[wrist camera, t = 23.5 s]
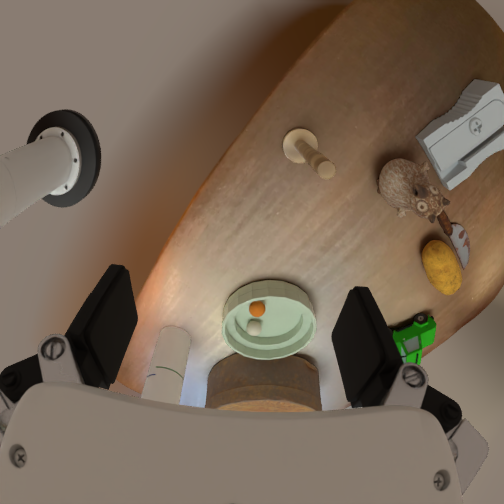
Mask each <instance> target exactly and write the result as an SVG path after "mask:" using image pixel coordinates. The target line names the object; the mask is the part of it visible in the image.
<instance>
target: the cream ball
mask: <svg viewBox="0 0 504 504" xmlns="http://www.w3.org/2000/svg"><path fill="white" fill-rule="evenodd" d="M246 330H247V332H248V334H249V335H251V336H257V335H259V334H260V333H261V330H262V326H261V324H260V323H259V322H257V321H251V322H249V323H248V324H247V326H246Z"/></svg>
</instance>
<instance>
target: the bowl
mask: <svg viewBox="0 0 504 504" xmlns="http://www.w3.org/2000/svg"><path fill="white" fill-rule="evenodd" d="M254 301H261V302H262V303H263V304H264V305H265V313H264V314H263V315H262V316H260V317H254V316H252V315H251V314H250V312H249V306H250V304H251V303H252V302H254ZM251 321H257V322H259V323H260V324H261V326H262V330H261V333H260V334H259V335H257V336H251V335H249V334H248V332H247V330H246V326H247V324H248V323H249V322H251ZM316 329H317V328H316V318H315V314H314V310H313V306H312V303H311V301H310V299H309V297H308V296H307V294H306V293H305V292H304V291H302V290H301V289H300V288H298V287H297V286H295V285H292V284H290V283H287V282H284V281H275V280H265V281H259V282H253V283H251V284H248V285H246V286H244V287H242V288H240V289H238V290H237V291H236V292H235V293H234V294H232V295H231V296H230V297H229V299H228V301H227V303H226V304H225V306H224V312H223V321H222V335H223V338H224V340H225V342H226V344H227V345H228V346H229V347H230V348H231V349H232V350H234V351H235V352H237V353H239V354H241V355H243V356H245V357H249V358H253V359H260V360H273V359H280V358H284V357H287V356H290V355H293V354H295V353H297V352H298V351H300V350H302V349H303V348H305V347H306V346H307V345H308V344H309V342H310V341H311V340H312V339H313V337H314V334H315V332H316Z"/></svg>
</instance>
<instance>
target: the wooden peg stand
mask: <svg viewBox="0 0 504 504" xmlns="http://www.w3.org/2000/svg"><path fill="white" fill-rule="evenodd" d="M282 148H283V152H284V154H285V155H286V156H287V158H288V159H290V160H291V161H293V162H295V163H306V162H307V163H308V164H309V165H310V166H311V167H312V168H313V170H314V171H315V172H316V173H317V174H318V175H319V176H320V177H321V178H322V179H330V178H332V177H333V176H334V175H335V173H336V167H335V165H334V163H333V162H331V161H330V160H329V159H327V158H326V157H325V156H324V155H322V154H321V153H320V152H318V142H317V139H316V137H315V136H314V135H313V134H312V133H311V132H310V131H308V130H306V129H302V128H297V129H293V130H291V131H289V132H288V133H287V134H286V135H285V136H284V138H283V142H282Z"/></svg>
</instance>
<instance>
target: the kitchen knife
mask: <svg viewBox="0 0 504 504" xmlns="http://www.w3.org/2000/svg"><path fill="white" fill-rule="evenodd" d="M437 218H438V220H439V222H440V225H441V227H442V228H443V229H444V233H445V234H446V235H448V236H449V238H450V240H451V242H452V244H453V246H454V248H455V250H456V252H457V255H458V257H459V259H460V261H461V264H462V267H463V270H464V269H465V267H466V266H467V264H468V261H469V255H470V242H469V238H468V235H467V233H466V231H465V229H464V228H463V227H462V226H460V225H458V224H452V225H451V223H450V221H449V219H448V217H447V215H446V213H445V212H444V210H442V212H441V213H440V214H439V215H438V216H437Z"/></svg>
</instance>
